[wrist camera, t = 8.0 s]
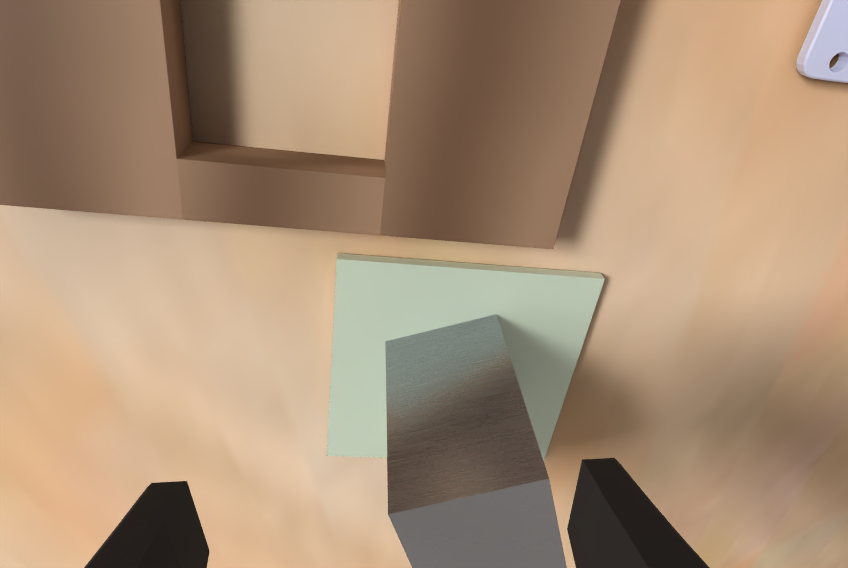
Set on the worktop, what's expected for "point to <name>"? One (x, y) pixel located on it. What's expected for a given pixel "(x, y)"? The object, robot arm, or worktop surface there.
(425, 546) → the steel block
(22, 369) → the worktop surface
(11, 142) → the walnut rail
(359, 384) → the green pad
